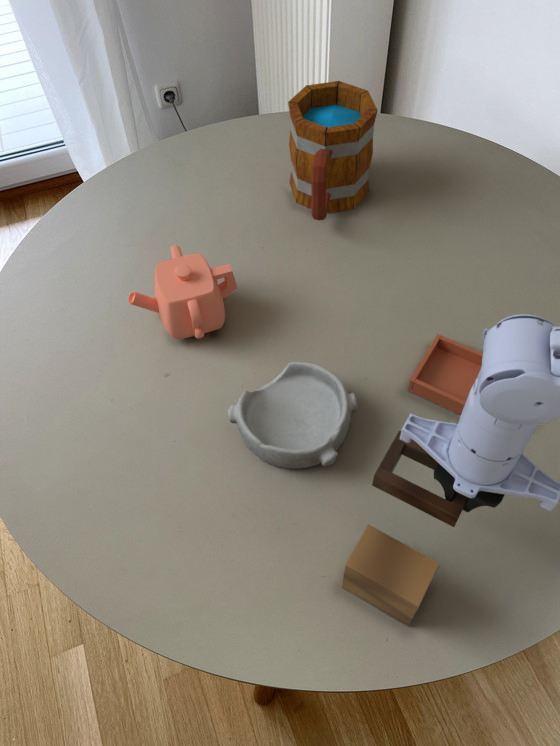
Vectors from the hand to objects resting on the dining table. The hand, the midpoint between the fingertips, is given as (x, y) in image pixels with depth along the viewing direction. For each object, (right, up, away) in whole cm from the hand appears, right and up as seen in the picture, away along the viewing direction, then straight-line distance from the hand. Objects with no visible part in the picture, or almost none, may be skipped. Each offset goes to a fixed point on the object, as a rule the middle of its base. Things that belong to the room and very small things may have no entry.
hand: (460, 498), depth 65 cm
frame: (-3, +1, +1) cm, 4 cm away
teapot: (-31, +21, +29) cm, 47 cm away
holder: (+6, +11, +20) cm, 24 cm away
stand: (-7, -11, +5) cm, 14 cm away
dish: (-16, +6, +17) cm, 24 cm away
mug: (-11, +41, +42) cm, 60 cm away
